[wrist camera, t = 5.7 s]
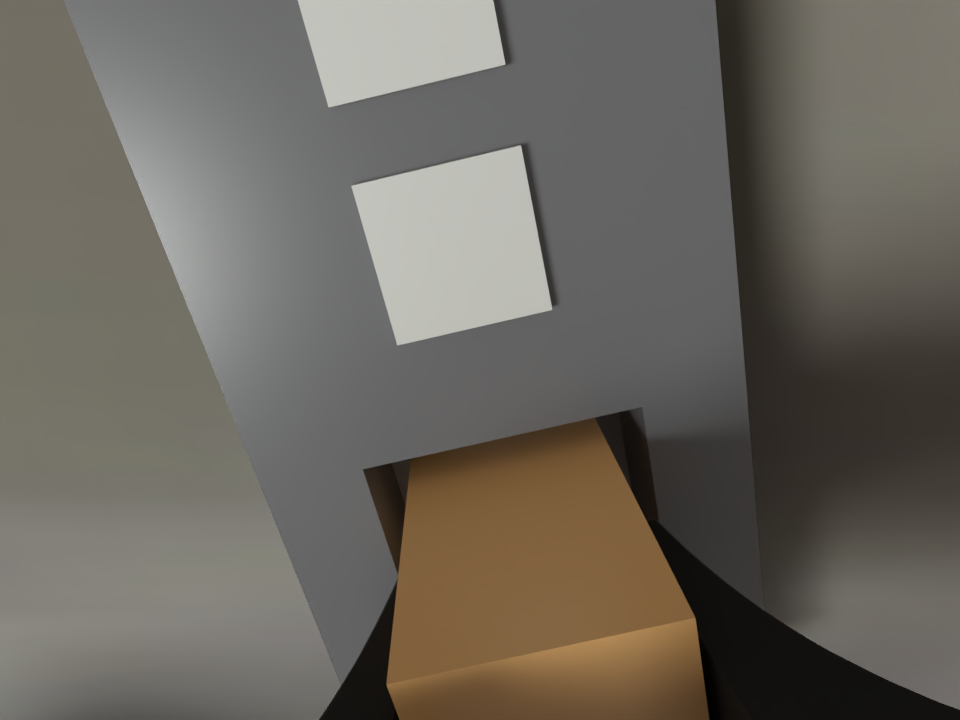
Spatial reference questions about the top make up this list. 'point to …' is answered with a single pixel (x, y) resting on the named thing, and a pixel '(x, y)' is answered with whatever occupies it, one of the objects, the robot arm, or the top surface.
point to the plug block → (537, 590)
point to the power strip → (445, 251)
